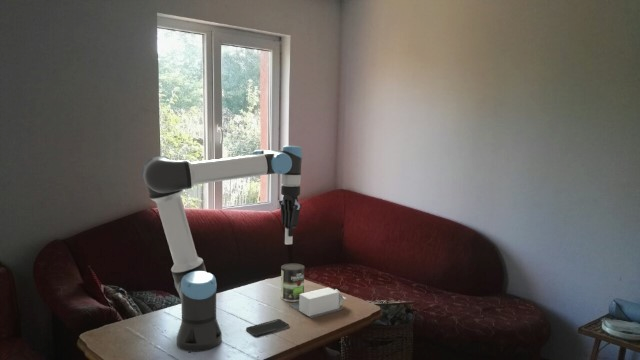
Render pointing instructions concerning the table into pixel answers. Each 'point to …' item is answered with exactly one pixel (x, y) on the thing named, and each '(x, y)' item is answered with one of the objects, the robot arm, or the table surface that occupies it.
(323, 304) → the milk carton
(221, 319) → the table surface
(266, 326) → the phone
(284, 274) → the coffee can
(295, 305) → the mat
